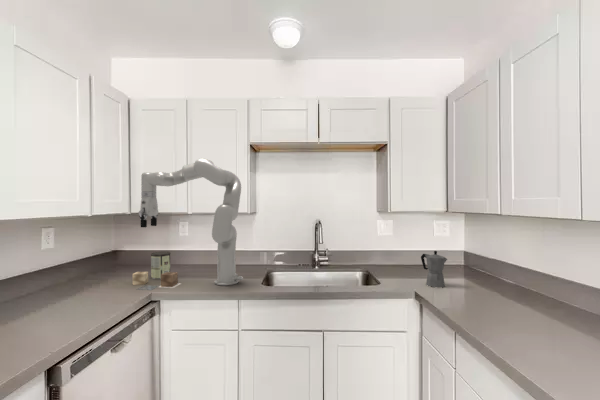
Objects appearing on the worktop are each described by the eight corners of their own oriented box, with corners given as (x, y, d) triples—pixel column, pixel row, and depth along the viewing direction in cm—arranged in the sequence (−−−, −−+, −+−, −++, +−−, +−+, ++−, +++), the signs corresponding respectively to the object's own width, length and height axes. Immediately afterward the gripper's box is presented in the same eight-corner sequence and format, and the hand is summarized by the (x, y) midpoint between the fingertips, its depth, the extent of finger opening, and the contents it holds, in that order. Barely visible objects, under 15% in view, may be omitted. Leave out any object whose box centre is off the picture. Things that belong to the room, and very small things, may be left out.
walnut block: (177, 283, 178) (177, 272, 178) (172, 286, 172) (172, 274, 172) (166, 283, 178) (166, 272, 178) (160, 286, 172) (160, 274, 172)
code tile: (181, 284, 179) (181, 283, 179) (173, 288, 170) (173, 287, 170) (165, 283, 180) (165, 282, 180) (156, 288, 171) (156, 287, 171)
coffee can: (156, 275, 199) (156, 251, 199) (173, 275, 198) (173, 251, 198) (147, 279, 189) (147, 254, 189) (164, 280, 188) (164, 254, 188)
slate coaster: (159, 286, 173) (159, 285, 173) (151, 291, 165) (151, 289, 165) (145, 286, 174) (145, 285, 174) (135, 290, 166) (135, 289, 166)
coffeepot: (452, 287, 174) (452, 251, 174) (441, 289, 169) (441, 253, 168) (426, 280, 187) (426, 248, 187) (415, 283, 181) (415, 249, 181)
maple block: (148, 282, 182) (148, 271, 182) (144, 285, 176) (144, 274, 176) (136, 283, 181) (136, 271, 181) (132, 285, 175) (132, 274, 175)
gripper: (146, 195, 177) (146, 228, 177) (163, 195, 194) (163, 225, 194) (132, 195, 177) (132, 227, 178) (151, 195, 195) (151, 225, 195)
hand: (148, 226), depth 186 cm, fingers open, 9 cm apart
